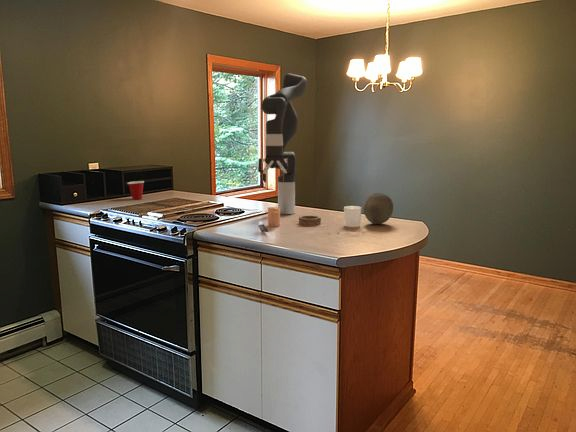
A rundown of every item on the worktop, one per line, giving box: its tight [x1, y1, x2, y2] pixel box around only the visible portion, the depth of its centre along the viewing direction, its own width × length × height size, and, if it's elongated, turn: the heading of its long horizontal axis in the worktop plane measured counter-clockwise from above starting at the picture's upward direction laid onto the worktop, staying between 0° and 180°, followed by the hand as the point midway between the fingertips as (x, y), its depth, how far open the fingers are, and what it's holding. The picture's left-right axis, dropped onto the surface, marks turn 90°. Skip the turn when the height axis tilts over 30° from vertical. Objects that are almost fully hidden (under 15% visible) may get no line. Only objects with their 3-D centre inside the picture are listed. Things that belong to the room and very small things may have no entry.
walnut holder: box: [292, 215, 329, 228], centre depth 213 cm, size 14×14×4 cm
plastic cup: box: [127, 180, 145, 201], centre depth 307 cm, size 11×11×12 cm
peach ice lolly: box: [267, 206, 281, 228], centre depth 207 cm, size 9×6×9 cm, turn 10°
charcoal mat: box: [258, 224, 269, 233], centre depth 211 cm, size 14×12×1 cm
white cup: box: [343, 205, 362, 228], centre depth 208 cm, size 8×8×10 cm
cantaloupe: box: [363, 192, 394, 226], centre depth 217 cm, size 14×14×15 cm
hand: (274, 182), depth 202 cm, fingers open, 8 cm apart
